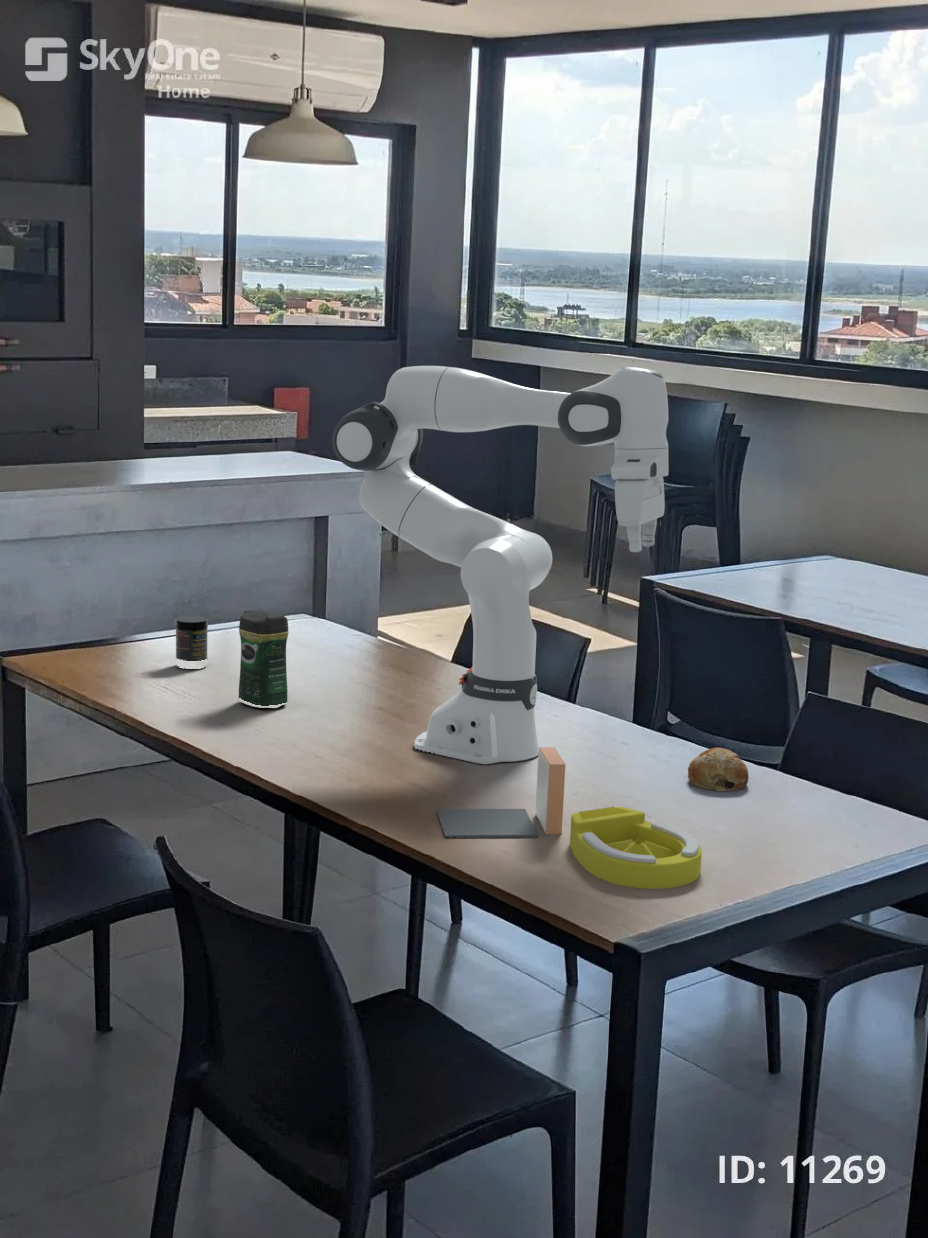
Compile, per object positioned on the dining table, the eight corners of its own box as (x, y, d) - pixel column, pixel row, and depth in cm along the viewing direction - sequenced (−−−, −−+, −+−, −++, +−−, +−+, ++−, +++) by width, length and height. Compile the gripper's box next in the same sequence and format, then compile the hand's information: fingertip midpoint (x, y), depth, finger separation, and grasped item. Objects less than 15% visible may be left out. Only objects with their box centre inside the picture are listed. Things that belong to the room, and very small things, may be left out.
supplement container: (213, 665, 328) (213, 618, 326) (196, 672, 322) (196, 623, 319) (187, 661, 330) (187, 614, 328) (169, 668, 324) (169, 619, 322)
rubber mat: (525, 811, 241) (525, 808, 240) (537, 837, 229) (537, 834, 229) (436, 811, 239) (436, 809, 239) (445, 837, 227) (445, 835, 227)
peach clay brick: (551, 814, 240) (554, 747, 237) (561, 834, 231) (565, 764, 229) (535, 814, 239) (538, 747, 237) (545, 834, 230) (548, 764, 228)
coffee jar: (294, 706, 297) (296, 613, 294) (261, 712, 292) (262, 617, 288) (264, 696, 304) (265, 604, 300) (231, 702, 299) (232, 609, 295)
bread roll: (695, 811, 256) (706, 775, 251) (675, 769, 263) (685, 734, 259) (749, 808, 258) (761, 773, 254) (727, 767, 266) (739, 732, 261)
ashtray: (639, 834, 233) (641, 802, 232) (723, 880, 215) (726, 846, 214) (547, 848, 225) (549, 816, 224) (627, 897, 208) (629, 863, 207)
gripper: (637, 462, 264) (637, 542, 266) (608, 469, 245) (609, 555, 247) (673, 462, 262) (673, 542, 264) (646, 469, 243) (647, 555, 245)
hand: (642, 548), depth 255 cm, fingers open, 8 cm apart
